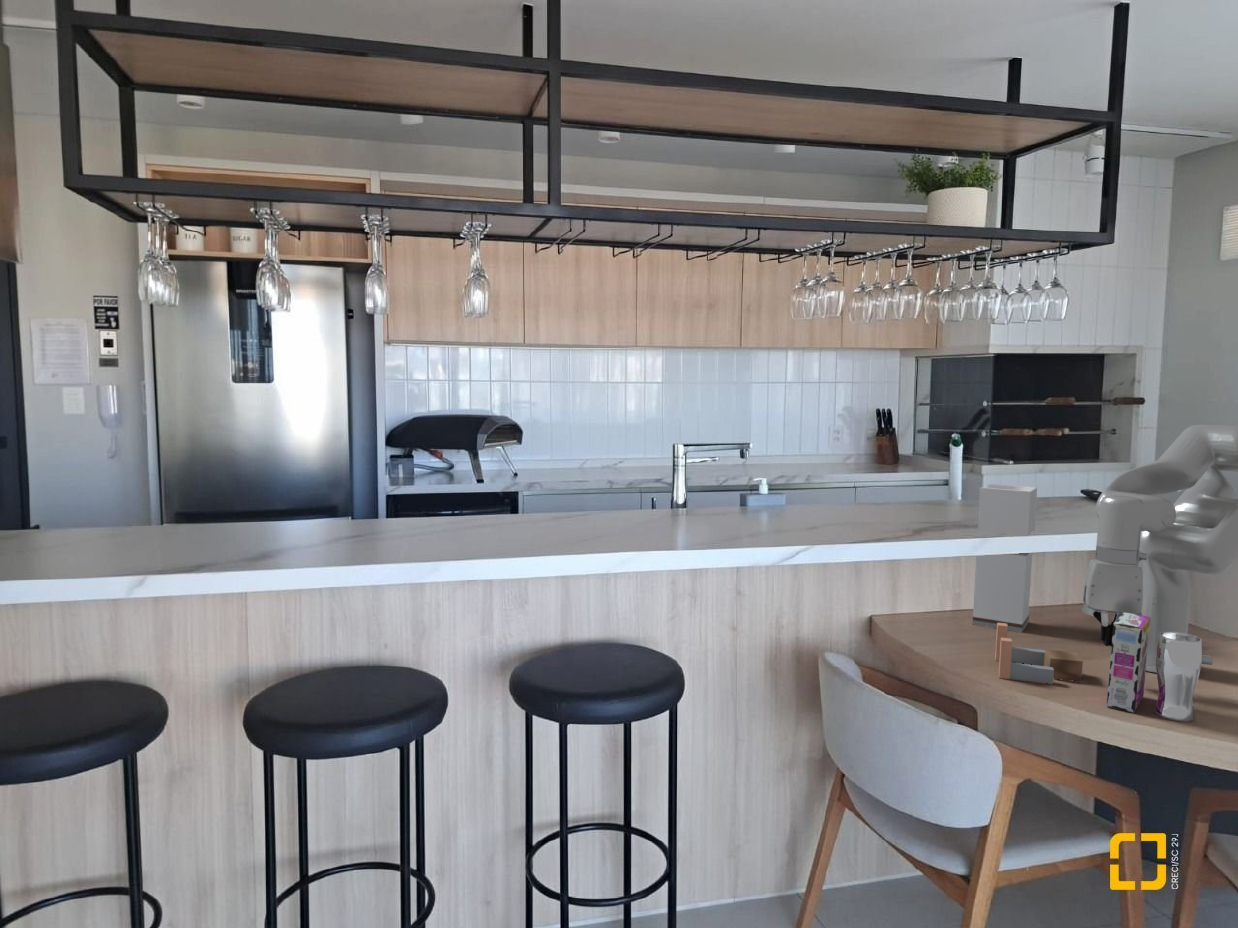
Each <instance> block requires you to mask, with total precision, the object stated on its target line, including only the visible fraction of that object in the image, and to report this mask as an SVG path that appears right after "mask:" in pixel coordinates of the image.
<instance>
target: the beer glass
mask: <svg viewBox="0 0 1238 928" xmlns="http://www.w3.org/2000/svg"><path fill="white" fill-rule="evenodd" d="M1202 641H1203V639H1202V638H1200V637H1199V636H1197V635H1194V634H1192V633H1191V634H1190V633H1187V634H1186V633H1181V632H1171V631H1166V632H1160V633H1159V639H1158V644H1157V651H1156V672H1157V673H1156V679H1157V686H1158V689H1157V690H1158V693H1157V700H1156V703H1155V706H1154V709H1153V710H1154V713H1155V714H1156V715H1157V716H1159V717H1161V718H1164V719H1165V720H1169V721H1174V722H1180V723H1181V722H1184V723H1187V722H1188V723H1189V722H1192V721H1194V718H1195V715H1194V709H1193V708H1194V707H1193V700H1194V699H1193V698H1194V695H1195V694H1194V693H1195V690H1196V687H1197V684H1198V681H1199V677H1200V672H1201V671H1202V670H1201V667H1202V664H1201V661H1202V655H1203V653H1202V651H1203V648H1202V645H1203V643H1202Z"/></svg>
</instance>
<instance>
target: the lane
mask: <svg viewBox="0 0 1238 928" xmlns="http://www.w3.org/2000/svg"><path fill="white" fill-rule="evenodd" d="M1008 631H1009V630H1008V625H1007V624H1006V623H997V629H996V636H995V637H996V639H995V655H994V659H995V661H996V660H999V661H998V679H1003V678H1004V679H1005V680H1014V681H1015V680H1016V681H1023V682H1031V683H1039V684H1046V683H1048V684H1047V685H1054V679H1053V677H1054V669H1053V667H1046V666H1044V658H1045V650H1046V649H1037V648H1036V649H1035V648H1026V647H1020V646H1019V647H1018V646H1013V640H1012V638H1008ZM1014 662H1016V663H1014ZM1022 663H1024V664H1022ZM1031 664H1032V665H1031Z"/></svg>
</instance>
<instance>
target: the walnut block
mask: <svg viewBox="0 0 1238 928" xmlns="http://www.w3.org/2000/svg"><path fill="white" fill-rule="evenodd" d="M1044 650H1045V658H1044V666H1046V667H1053V669H1054V677H1053V678H1054V679H1053V680H1057V679H1062V680H1061V681H1066V680H1073V681H1072V682H1076V681H1081V682H1082V679H1083V678H1082V676H1083V665H1084V662H1083V660H1082V659H1081V657H1080V656H1079V654H1078V653H1077V652H1074V651H1064V650H1063V651H1061V650H1054V649H1044Z"/></svg>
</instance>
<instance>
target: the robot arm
mask: <svg viewBox="0 0 1238 928" xmlns="http://www.w3.org/2000/svg"><path fill="white" fill-rule="evenodd" d="M1224 471H1225V472H1233V473H1235V472H1236V473H1238V425H1229V424H1227V425H1226V424H1206V423H1205V424H1204V423H1202V424H1200V423H1199V424H1193V425H1190V426H1188V427H1187V428H1185V429H1184V430H1183V431H1182V432H1181V433H1180V434H1179V436H1177V437H1176V439H1175V440H1174V441H1173V442H1172V443H1171V444H1170V445H1169V447H1168V448H1166V449H1165V451H1164V452H1163V453H1162V454H1161V456H1160V457H1158V459H1156V460H1154V461H1151V462H1147V463H1144V464H1142V465H1140V466H1136V467H1135V468H1132V469H1129V470H1127V471H1125V472H1123V473H1121V474H1119V475H1118V476H1116V477H1115V478H1114V479H1112V481H1111V482H1110V483H1109V484H1108V485H1107V486H1106V487H1105V488H1104V490H1103V491H1102V492H1101V494H1100V495H1099V497H1098V499H1097V500H1096V503H1095V514H1096V517H1097V519H1098V524H1097V535H1096V545H1095V546H1096V547H1095V556H1094V559H1090V560H1089V564H1088V566H1087V570H1086V575H1085V581H1084V587H1083V588H1084V589H1083V595H1082V602H1083V605H1082V606H1081V612H1082V613H1083V614H1085V615H1088V616H1091V617H1094V618H1095V619H1096V620H1097V621H1098V622H1099V623H1100V635H1099V640H1100V641H1102V643H1103V645H1104V646H1105V647H1109V646H1110V648H1112V638H1113V627H1114V623H1115V621H1116V620H1117V619H1118V618H1119V617H1120V616H1121V615H1122V614H1123V613H1131V614H1138V615H1143V616H1148V617H1151V620H1150V630H1149V641H1148V651H1147V660H1146V672H1150V673H1153V674H1154V673H1155V674H1157V672H1156V651H1157V644H1158V639H1159V633H1160V632H1166V631H1171V632H1181V633H1186V634H1189V633H1188V631H1189V620H1190V619H1189V617H1190V608H1191V607H1190V606H1191V599H1192V598H1191V596H1192V595H1191V594H1192V593H1191V591H1192V589H1191V585H1190V583H1189V580H1188V579H1187V577H1186V575H1185V573H1184V571H1189V572H1194V573H1200V574H1204V575H1216V576H1218V575H1221V574H1224V573H1225V572H1226V571H1228V570H1229V569H1230V567H1232V566H1233V564H1234V563H1235V561H1236V560H1237V559H1238V498H1235V495H1236V494H1235V490H1234V488H1233V486H1232V484H1231V482H1230V481H1229V480H1228V479H1227V477H1226V476H1225V475H1224V474H1223V472H1224ZM1182 491H1183V492H1182ZM1176 492H1177V493H1178V492H1182V494H1181V495H1180V496H1179V497H1178V499H1176V501H1174V503H1173V502H1171V501H1170V500H1169V499H1167V498H1165V497H1162V496H1157V495H1165V494H1172V493H1176ZM1109 613H1114V615H1113V617H1112V621H1111V622H1109ZM1213 662H1214V661H1213V656H1212V655H1206V654H1202V661H1201V665H1207V666H1208V665H1209V666H1212V665H1213Z"/></svg>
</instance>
